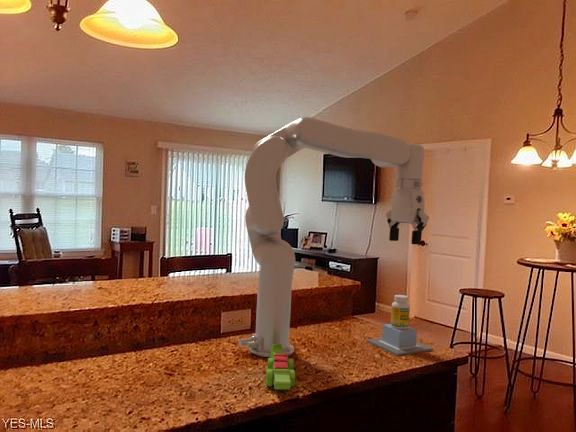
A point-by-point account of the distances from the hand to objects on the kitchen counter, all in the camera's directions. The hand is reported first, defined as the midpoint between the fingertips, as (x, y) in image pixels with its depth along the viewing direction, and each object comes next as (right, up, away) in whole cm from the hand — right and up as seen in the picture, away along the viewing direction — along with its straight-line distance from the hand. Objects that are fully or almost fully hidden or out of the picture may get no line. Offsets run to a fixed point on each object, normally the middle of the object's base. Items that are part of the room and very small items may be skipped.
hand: (404, 242), depth 146 cm
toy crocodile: (-37, -32, -30) cm, 57 cm away
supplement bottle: (-1, -26, +1) cm, 26 cm away
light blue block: (-1, -31, +1) cm, 31 cm away
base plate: (-1, -32, +1) cm, 32 cm away
